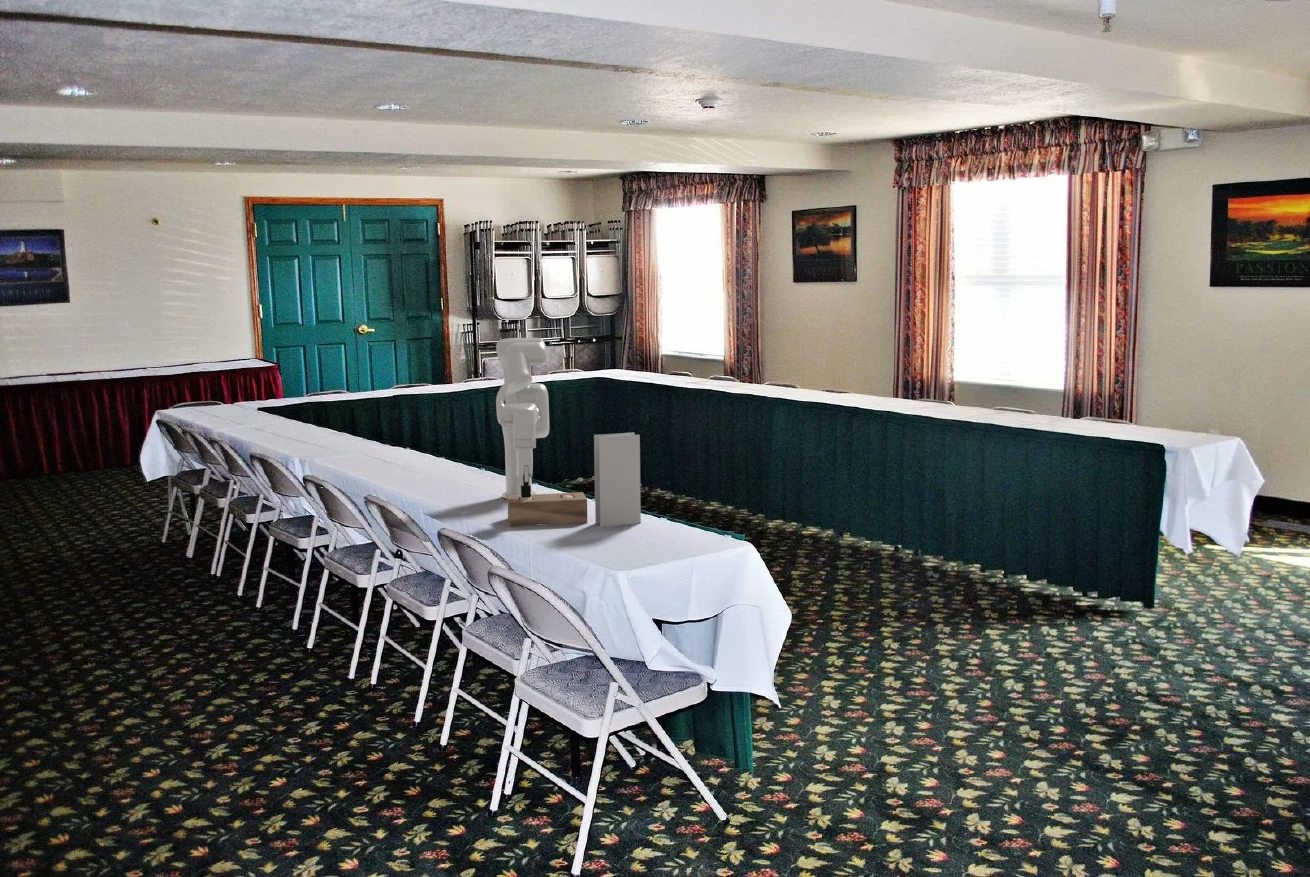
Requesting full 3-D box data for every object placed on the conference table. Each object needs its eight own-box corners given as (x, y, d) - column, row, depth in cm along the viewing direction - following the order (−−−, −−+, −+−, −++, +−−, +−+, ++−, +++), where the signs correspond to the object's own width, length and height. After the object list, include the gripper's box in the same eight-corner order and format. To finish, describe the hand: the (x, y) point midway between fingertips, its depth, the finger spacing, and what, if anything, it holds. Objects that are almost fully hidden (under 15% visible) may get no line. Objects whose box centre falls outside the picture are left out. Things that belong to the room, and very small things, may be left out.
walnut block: (508, 518, 377) (507, 495, 376) (583, 514, 382) (582, 492, 380) (509, 526, 365) (509, 503, 364) (587, 522, 370) (587, 499, 369)
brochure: (635, 519, 374) (634, 432, 369) (640, 523, 369) (639, 434, 364) (595, 523, 369) (593, 435, 364) (600, 526, 364) (599, 437, 359)
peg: (520, 517, 374) (519, 495, 373) (532, 517, 374) (531, 495, 373) (521, 520, 370) (520, 498, 369) (533, 519, 371) (532, 497, 369)
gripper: (512, 440, 375) (513, 493, 377) (514, 447, 360) (516, 502, 363) (534, 439, 376) (535, 492, 379) (537, 446, 361) (539, 500, 364)
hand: (526, 496), depth 371 cm, fingers closed
